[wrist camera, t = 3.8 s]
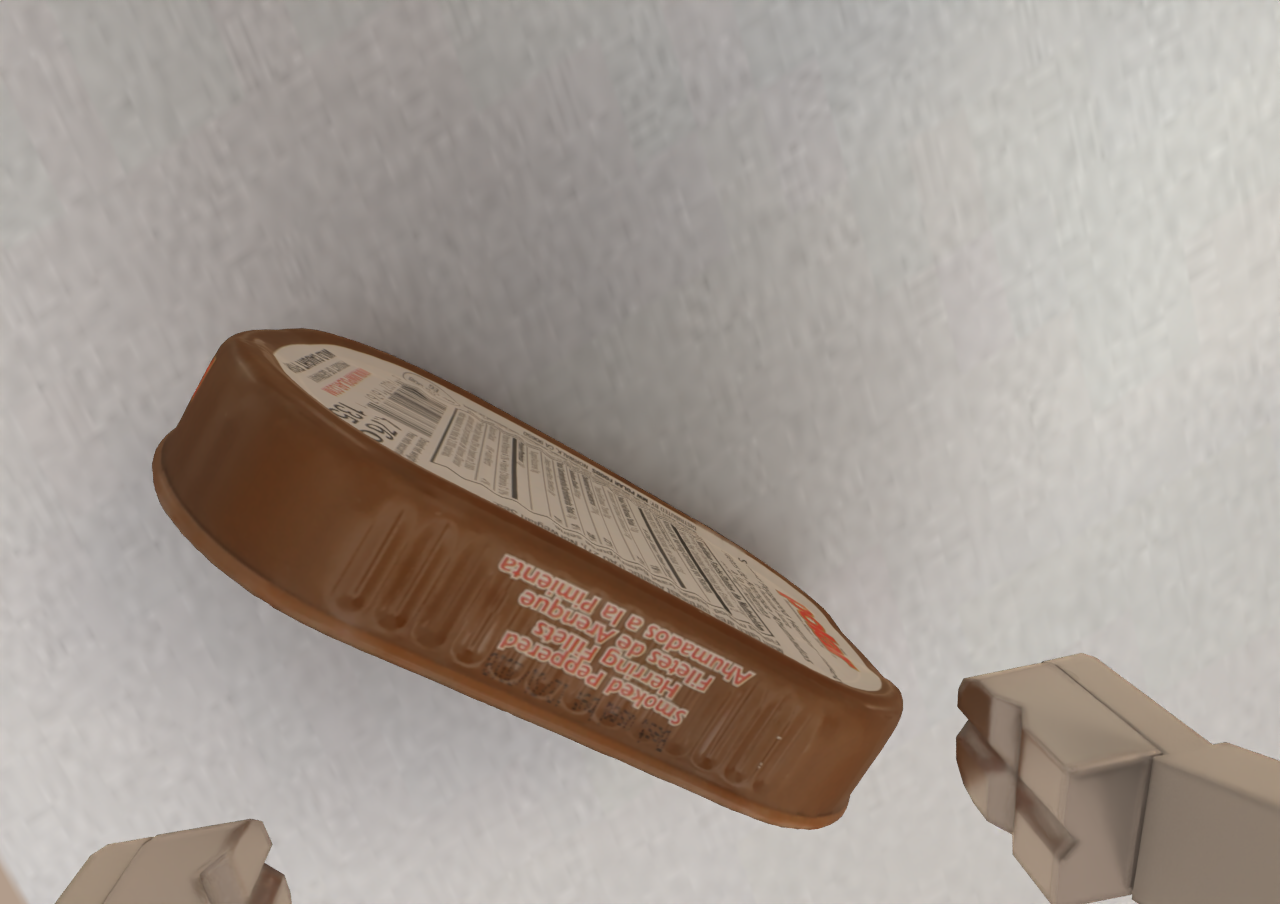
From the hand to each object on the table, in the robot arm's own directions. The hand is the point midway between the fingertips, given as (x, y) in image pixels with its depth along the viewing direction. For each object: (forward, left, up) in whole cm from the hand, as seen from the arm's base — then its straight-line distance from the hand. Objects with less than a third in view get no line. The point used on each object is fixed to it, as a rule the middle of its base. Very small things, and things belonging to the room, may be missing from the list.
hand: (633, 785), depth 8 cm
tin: (0, 0, -11) cm, 11 cm away
